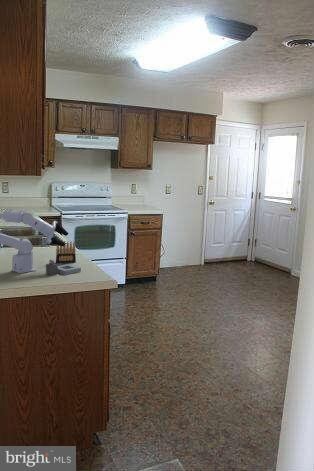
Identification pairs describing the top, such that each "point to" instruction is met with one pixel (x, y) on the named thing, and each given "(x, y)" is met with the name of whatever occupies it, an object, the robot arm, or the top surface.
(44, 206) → the top surface
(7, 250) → the top surface
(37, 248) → the top surface
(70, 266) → the socket plate
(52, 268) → the plug
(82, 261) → the top surface
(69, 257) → the ammunition clip
